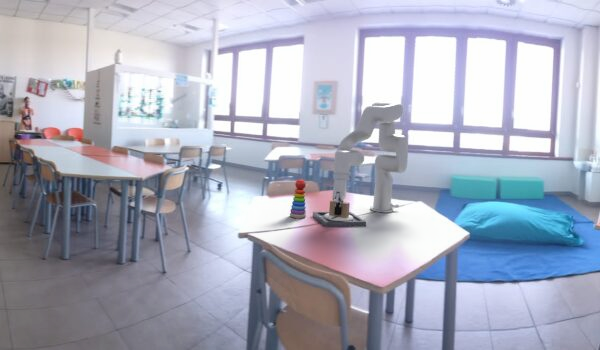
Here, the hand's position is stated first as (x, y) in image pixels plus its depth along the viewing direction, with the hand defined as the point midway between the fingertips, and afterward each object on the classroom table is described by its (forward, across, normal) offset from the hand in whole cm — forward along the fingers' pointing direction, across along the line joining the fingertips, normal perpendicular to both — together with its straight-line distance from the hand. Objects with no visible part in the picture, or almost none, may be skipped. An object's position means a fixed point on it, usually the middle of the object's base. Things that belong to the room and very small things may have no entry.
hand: (338, 213), depth 190 cm
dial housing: (+4, 0, 0) cm, 4 cm away
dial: (+2, 0, 0) cm, 2 cm away
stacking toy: (+4, +2, -20) cm, 20 cm away
